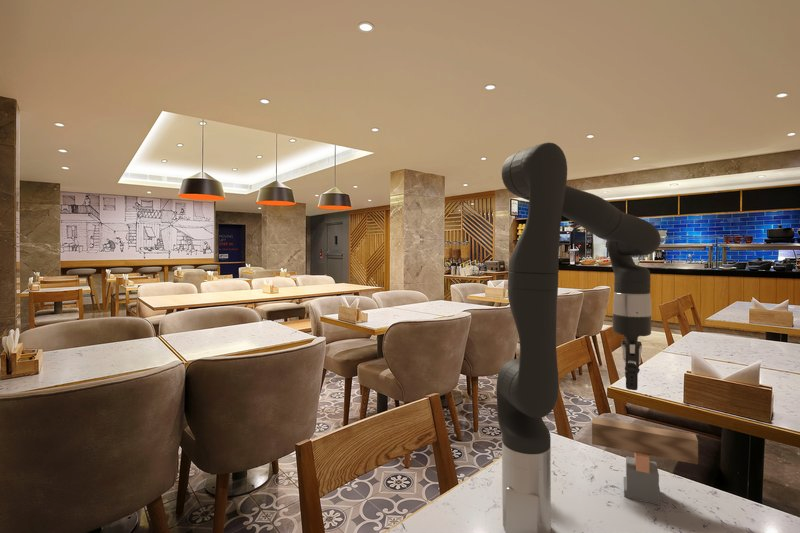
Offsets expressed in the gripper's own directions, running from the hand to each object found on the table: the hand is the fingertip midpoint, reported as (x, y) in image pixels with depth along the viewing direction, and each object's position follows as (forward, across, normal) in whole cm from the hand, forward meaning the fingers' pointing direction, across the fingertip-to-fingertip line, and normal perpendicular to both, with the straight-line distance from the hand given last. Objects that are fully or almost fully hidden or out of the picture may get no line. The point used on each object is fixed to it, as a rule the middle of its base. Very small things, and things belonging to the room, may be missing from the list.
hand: (631, 383), depth 90 cm
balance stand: (+25, 0, -2) cm, 25 cm away
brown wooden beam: (+15, 0, -2) cm, 15 cm away
